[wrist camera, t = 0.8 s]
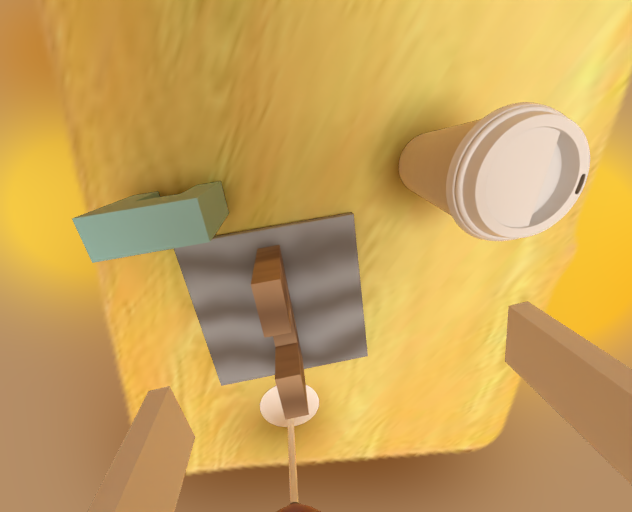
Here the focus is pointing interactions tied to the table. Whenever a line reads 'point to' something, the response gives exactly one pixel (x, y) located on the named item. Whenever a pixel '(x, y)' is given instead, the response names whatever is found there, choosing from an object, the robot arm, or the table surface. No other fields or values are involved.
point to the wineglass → (289, 437)
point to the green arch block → (153, 222)
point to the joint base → (279, 302)
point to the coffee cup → (501, 170)
